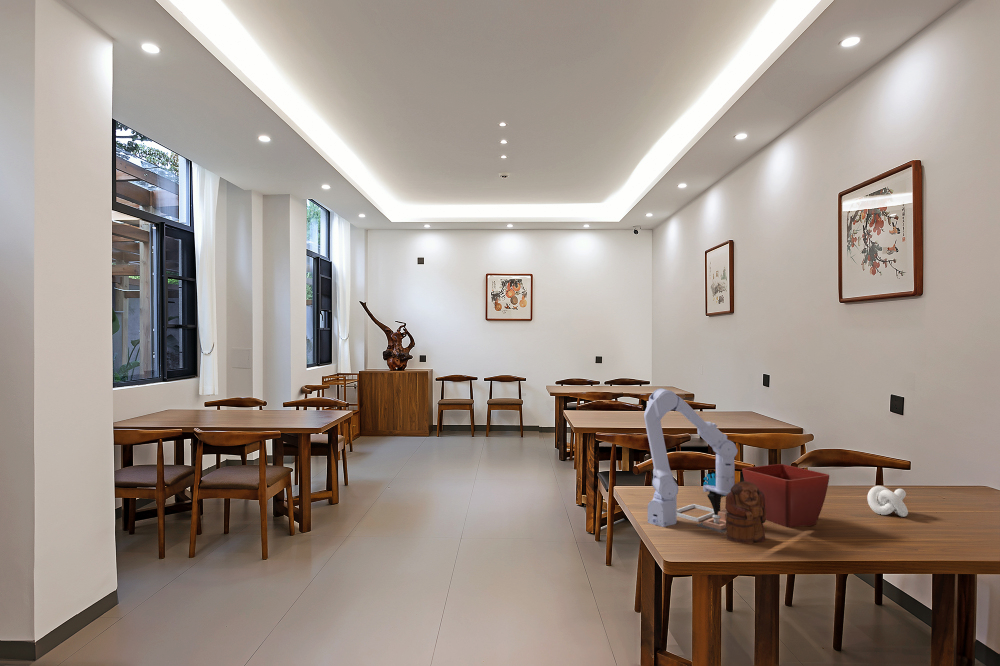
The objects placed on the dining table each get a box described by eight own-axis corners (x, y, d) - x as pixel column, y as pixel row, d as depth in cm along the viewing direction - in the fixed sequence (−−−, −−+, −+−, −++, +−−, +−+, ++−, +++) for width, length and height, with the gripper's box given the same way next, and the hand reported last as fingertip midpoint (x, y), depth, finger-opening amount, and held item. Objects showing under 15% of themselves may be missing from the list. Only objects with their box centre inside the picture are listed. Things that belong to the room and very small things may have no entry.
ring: (720, 529, 173) (720, 518, 173) (703, 525, 178) (702, 514, 178) (736, 523, 180) (736, 512, 180) (719, 518, 184) (718, 508, 184)
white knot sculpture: (920, 520, 187) (920, 493, 187) (885, 519, 187) (885, 493, 187) (896, 510, 198) (896, 484, 199) (863, 509, 198) (862, 484, 198)
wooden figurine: (739, 549, 160) (739, 486, 160) (723, 541, 166) (723, 481, 166) (771, 544, 164) (770, 482, 164) (754, 537, 170) (753, 478, 170)
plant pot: (740, 517, 190) (740, 467, 190) (781, 511, 197) (781, 463, 197) (788, 534, 172) (788, 480, 172) (832, 527, 179) (831, 475, 179)
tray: (697, 524, 181) (697, 518, 181) (670, 517, 189) (670, 511, 189) (720, 516, 190) (720, 510, 190) (693, 509, 198) (693, 503, 198)
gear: (707, 493, 214) (702, 470, 221) (701, 500, 218) (696, 478, 225) (735, 496, 215) (728, 474, 222) (728, 504, 219) (722, 482, 226)
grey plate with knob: (722, 535, 171) (722, 522, 171) (695, 528, 178) (695, 515, 178) (736, 529, 176) (736, 517, 176) (710, 522, 183) (710, 510, 183)
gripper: (752, 478, 178) (753, 520, 178) (710, 470, 189) (711, 510, 189) (742, 481, 174) (742, 525, 173) (699, 473, 185) (699, 514, 184)
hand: (725, 517), depth 181 cm, fingers open, 5 cm apart
